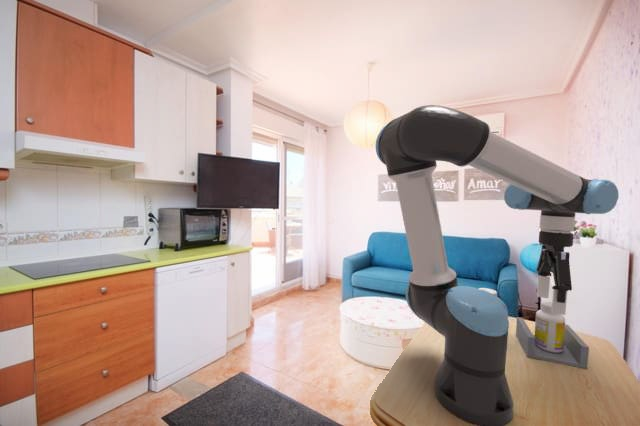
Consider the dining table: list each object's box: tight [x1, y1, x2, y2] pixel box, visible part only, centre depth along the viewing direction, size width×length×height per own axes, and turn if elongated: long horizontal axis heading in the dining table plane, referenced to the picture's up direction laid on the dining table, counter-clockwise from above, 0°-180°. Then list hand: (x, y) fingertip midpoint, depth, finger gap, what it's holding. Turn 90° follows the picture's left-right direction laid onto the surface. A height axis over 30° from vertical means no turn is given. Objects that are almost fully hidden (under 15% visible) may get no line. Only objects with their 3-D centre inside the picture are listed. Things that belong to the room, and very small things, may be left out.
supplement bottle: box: [534, 301, 566, 353], centre depth 83 cm, size 7×7×13 cm
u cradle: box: [515, 316, 590, 370], centre depth 84 cm, size 13×14×6 cm
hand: (549, 304), depth 83 cm, fingers open, 13 cm apart
